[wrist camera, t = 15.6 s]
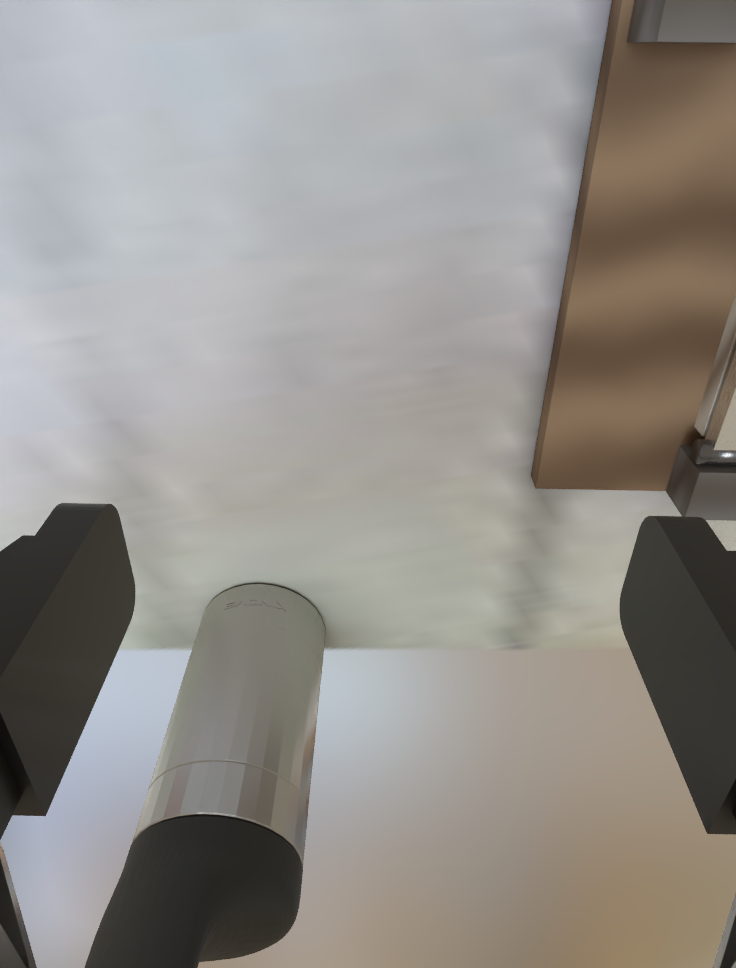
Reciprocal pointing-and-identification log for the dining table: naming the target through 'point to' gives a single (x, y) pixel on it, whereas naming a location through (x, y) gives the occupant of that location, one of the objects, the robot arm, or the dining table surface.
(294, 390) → the dining table surface
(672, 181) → the hinged wooden plank
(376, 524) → the dining table surface
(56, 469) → the dining table surface
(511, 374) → the dining table surface
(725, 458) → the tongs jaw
